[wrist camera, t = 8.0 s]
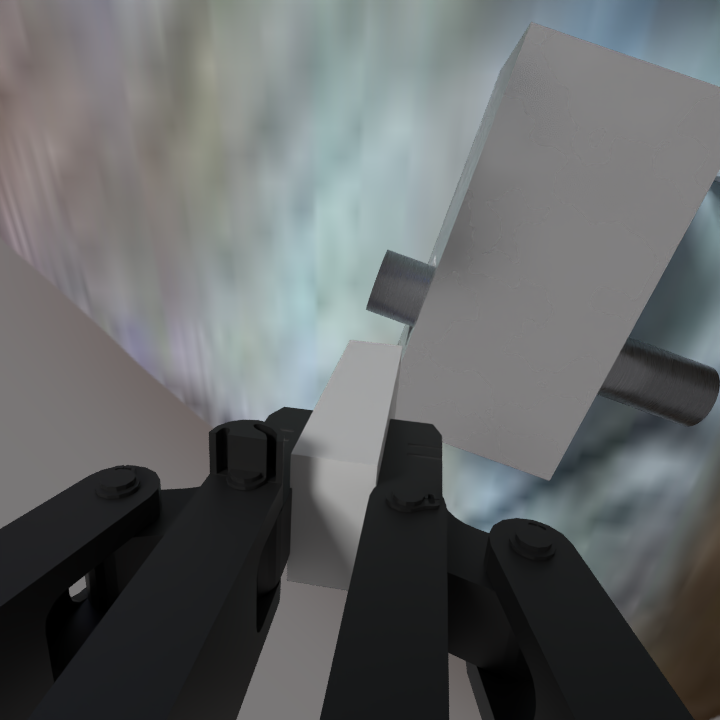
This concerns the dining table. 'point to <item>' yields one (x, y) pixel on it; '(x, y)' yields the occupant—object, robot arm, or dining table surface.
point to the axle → (626, 377)
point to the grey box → (554, 244)
